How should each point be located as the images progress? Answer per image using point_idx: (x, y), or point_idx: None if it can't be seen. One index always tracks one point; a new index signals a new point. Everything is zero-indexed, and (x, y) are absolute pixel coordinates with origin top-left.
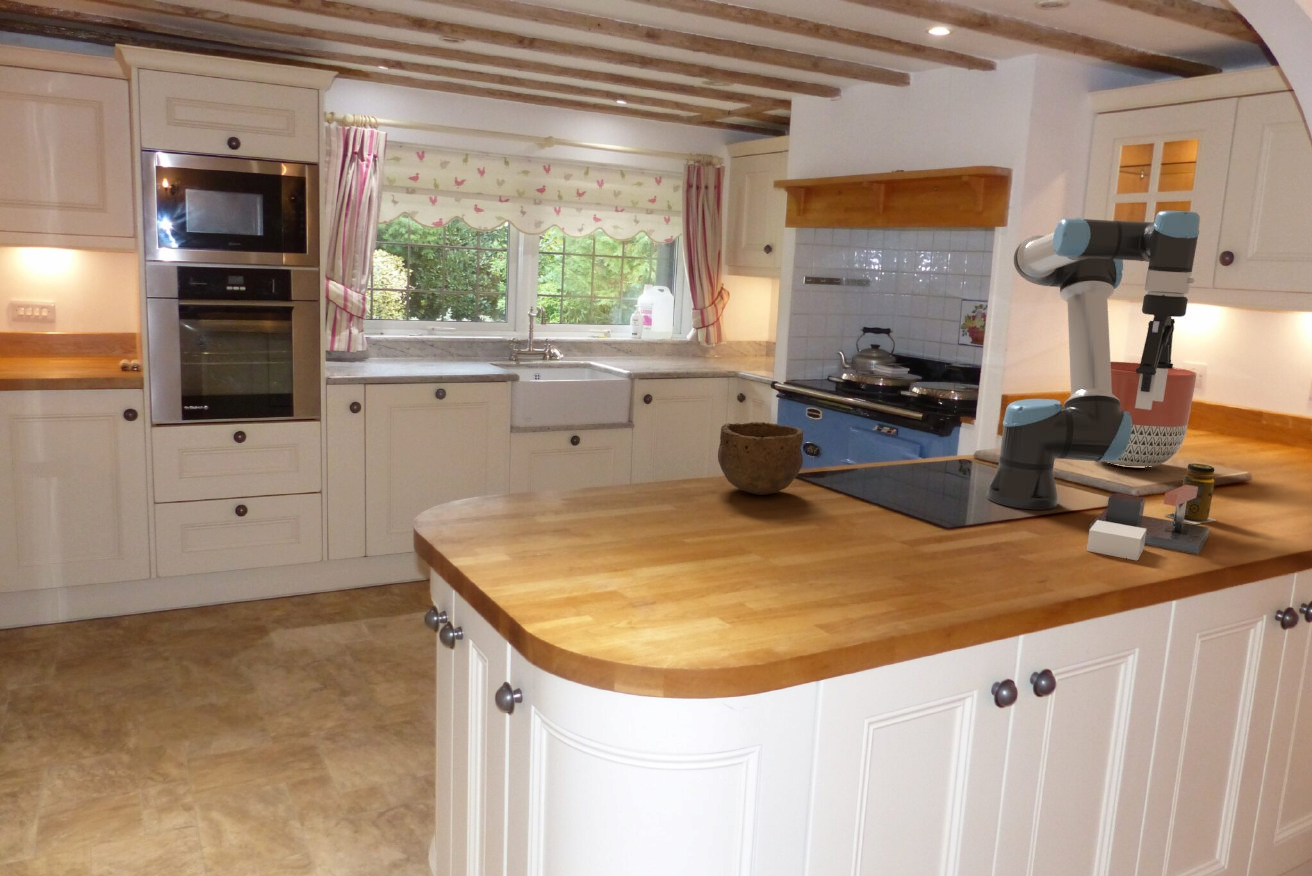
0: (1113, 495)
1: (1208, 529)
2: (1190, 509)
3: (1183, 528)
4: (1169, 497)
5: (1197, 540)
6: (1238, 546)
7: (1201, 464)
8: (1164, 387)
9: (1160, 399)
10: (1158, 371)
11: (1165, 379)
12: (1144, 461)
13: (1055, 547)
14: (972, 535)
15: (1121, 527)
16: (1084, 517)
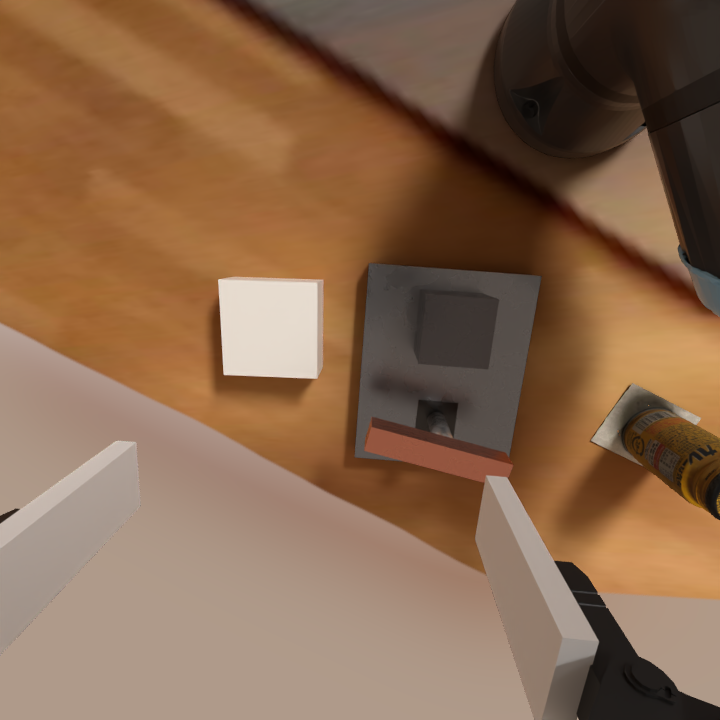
0: (461, 301)
1: None
2: (637, 437)
3: (464, 429)
4: (368, 433)
5: None
6: (464, 504)
7: None
8: (496, 600)
9: (479, 536)
10: (541, 653)
11: (512, 646)
12: None
13: (213, 220)
14: (169, 37)
15: (289, 334)
16: (509, 234)
